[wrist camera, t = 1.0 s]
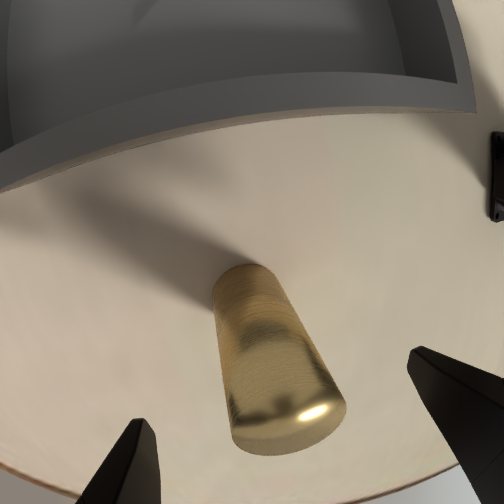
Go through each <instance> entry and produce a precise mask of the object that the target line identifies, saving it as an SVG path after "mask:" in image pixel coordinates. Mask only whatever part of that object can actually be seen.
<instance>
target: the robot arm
mask: <svg viewBox="0 0 504 504" xmlns="http://www.w3.org/2000/svg"><path fill="white" fill-rule="evenodd" d="M491 143H492V193H491V210H490V219H491V221H493V222H496V223H497V222H500V221H503V220H504V132H497V131H494V132H492V135H491ZM407 371H408V373H409V375H410V377H411V379H412V381H413V383H414V385H415V387H416V389H417V391H418V393H419V396H420V398H421V400H422V402H423V404H424V405H425V407H426V409H427V410H428V412H429V413H430V415H431V417H432V418H433V420H434V421H435V423H436V425H437V426H438V428H439V430H440V431H441V433H442V435H443V436H444V438H445V440H446V441H447V443H448V445H449V446H450V448H451V450H452V451H453V453H454V455H455V457H456V458H457V460H458V462H459V463H460V465H461V467H462V469H463V470H464V472H465V474H466V476H467V478H468V479H469V481H470V483H471V485H472V487H473V489H474V491H475V493H476V495H477V496H478V498H479V500H480V502H481V504H504V378H501V377H499V376H496V375H494V374H491V373H489V372H486V371H484V370H481V369H478V368H476V367H473V366H471V365H468V364H466V363H463V362H461V361H458V360H456V359H453V358H451V357H448V356H446V355H443V354H441V353H438V352H436V351H433V350H431V349H428V348H426V347H424V346H418V347H416V348H414V349H412V350H411V351H410V355H409V359H408V363H407ZM75 504H161V480H160V469H159V461H158V453H157V444H156V436H155V433H154V431H153V430H152V428H151V427H150V425H149V424H148V422H147V421H146V420H145V419H144V418H137V419H132V420H131V421H130V423H129V424H128V426H127V427H126V429H125V430H124V432H123V433H122V435H121V436H120V438H119V439H118V440H117V442H116V443H115V445H114V446H113V448H112V449H111V451H110V452H109V454H108V455H107V457H106V458H105V460H104V461H103V463H102V464H101V466H100V467H99V469H98V470H97V472H96V473H95V475H94V476H93V478H92V479H91V481H90V482H89V484H88V485H87V487H86V488H85V490H84V491H83V493H82V495H81V496H80V497H79V498H78V500H77V502H76V503H75Z"/></svg>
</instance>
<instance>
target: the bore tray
mask: <svg viewBox="0 0 504 504" xmlns="http://www.w3.org/2000/svg"><path fill="white" fill-rule="evenodd" d="M417 112H460V113H477V112H476V104H475V96H474V89H473V83H472V77H471V71H470V66H469V61H468V56H467V52H466V48H465V44H464V40H463V36H462V32H461V28H460V25H459V21H458V18H457V15H456V12H455V9H454V6H453V3H452V0H0V194H1V193H4V192H6V191H9V190H12V189H15V188H17V187H20V186H23V185H26V184H29V183H32V182H34V181H37V180H39V179H42V178H44V177H47V176H49V175H52V174H55V173H57V172H60V171H63V170H65V169H68V168H71V167H74V166H77V165H79V164H82V163H85V162H88V161H91V160H94V159H97V158H101V157H104V156H107V155H110V154H114V153H117V152H120V151H124V150H127V149H131V148H134V147H138V146H142V145H146V144H149V143H153V142H157V141H161V140H166V139H170V138H174V137H179V136H183V135H188V134H192V133H197V132H202V131H207V130H213V129H218V128H224V127H230V126H236V125H242V124H249V123H256V122H263V121H271V120H279V119H288V118H298V117H309V116H322V115H338V114H365V113H417Z"/></svg>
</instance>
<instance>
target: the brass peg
mask: <svg viewBox="0 0 504 504" xmlns="http://www.w3.org/2000/svg"><path fill="white" fill-rule="evenodd" d="M213 306H214V315H215V323H216V331H217V339H218V347H219V354H220V362H221V369H222V376H223V383H224V390H225V396H226V403H227V409H228V416H229V422H230V428H231V434H232V438H233V441H234V443H235V444H236V445H237V446H238V447H239V448H240V449H242V450H244V451H246V452H248V453H251V454H255V455H262V456H276V455H284V454H289V453H293V452H297V451H300V450H303V449H306V448H308V447H310V446H312V445H314V444H316V443H318V442H320V441H321V440H323V439H325V438H326V437H327V436H329V435H330V434H331V433H332V432H333V431H334V430H335V429H336V428H337V427H338V426H339V425H340V423H341V422H342V420H343V419H344V416H345V414H346V402H345V400H344V398H343V396H342V394H341V392H340V391H339V389H338V387H337V385H336V383H335V382H334V380H333V378H332V376H331V374H330V373H329V371H328V369H327V367H326V365H325V364H324V362H323V360H322V358H321V356H320V355H319V353H318V351H317V349H316V347H315V346H314V344H313V342H312V340H311V338H310V337H309V335H308V333H307V331H306V330H305V328H304V326H303V324H302V322H301V321H300V319H299V317H298V315H297V313H296V312H295V310H294V308H293V306H292V305H291V303H290V301H289V299H288V297H287V296H286V294H285V292H284V290H283V289H282V287H281V285H280V283H279V281H278V280H277V278H276V276H275V275H274V274H273V273H272V272H271V271H270V270H268V269H267V268H265V267H263V266H260V265H255V264H243V265H239V266H236V267H233V268H231V269H229V270H228V271H226V272H225V273H224V274H223V275H222V276H221V277H220V278H219V279H218V281H217V282H216V284H215V286H214V290H213Z"/></svg>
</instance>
